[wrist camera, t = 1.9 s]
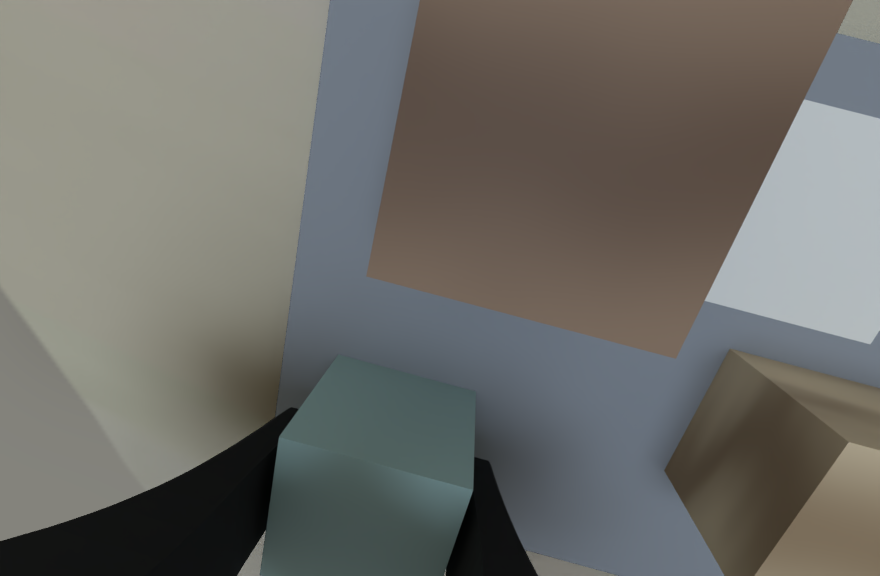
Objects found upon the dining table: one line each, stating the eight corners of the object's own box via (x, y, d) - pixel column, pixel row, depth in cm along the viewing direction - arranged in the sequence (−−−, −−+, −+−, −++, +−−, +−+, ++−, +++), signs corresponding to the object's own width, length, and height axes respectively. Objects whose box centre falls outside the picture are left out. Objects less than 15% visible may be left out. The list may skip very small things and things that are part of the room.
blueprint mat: (746, 600, 15) (753, 613, 15) (272, 470, 15) (266, 479, 15) (1099, 107, 9) (1128, 105, 9) (347, -82, 10) (341, -92, 9)
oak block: (802, 507, 13) (932, 652, 9) (664, 470, 13) (737, 599, 9) (885, 389, 12) (1081, 504, 8) (729, 348, 12) (848, 442, 8)
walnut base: (611, 290, 11) (675, 359, 8) (404, 236, 12) (366, 276, 8) (708, 54, 9) (858, -12, 6) (457, -10, 10) (442, -116, 6)
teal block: (441, 498, 14) (427, 621, 11) (318, 464, 14) (259, 575, 11) (476, 391, 13) (473, 490, 9) (338, 354, 13) (278, 436, 9)
